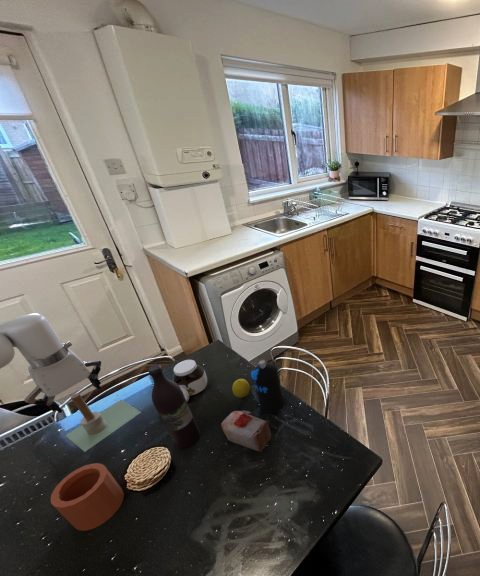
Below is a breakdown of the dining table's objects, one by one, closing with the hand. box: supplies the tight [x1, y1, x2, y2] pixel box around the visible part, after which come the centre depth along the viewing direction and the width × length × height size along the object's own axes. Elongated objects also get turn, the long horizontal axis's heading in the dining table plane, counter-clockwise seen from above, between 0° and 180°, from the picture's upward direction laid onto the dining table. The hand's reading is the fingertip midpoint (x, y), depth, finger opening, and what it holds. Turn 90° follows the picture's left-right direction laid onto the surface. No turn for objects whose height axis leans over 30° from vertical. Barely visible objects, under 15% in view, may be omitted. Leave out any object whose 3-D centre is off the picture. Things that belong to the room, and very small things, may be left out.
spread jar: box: [171, 359, 208, 402], centre depth 110 cm, size 12×11×12 cm
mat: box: [65, 399, 142, 453], centre depth 102 cm, size 16×12×1 cm
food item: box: [220, 409, 272, 453], centre depth 95 cm, size 14×8×10 cm, turn 71°
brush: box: [70, 392, 107, 435], centre depth 96 cm, size 5×5×15 cm
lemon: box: [231, 378, 251, 399], centre depth 110 cm, size 6×6×8 cm
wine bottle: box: [148, 364, 201, 450], centre depth 90 cm, size 7×7×30 cm
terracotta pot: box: [50, 462, 125, 532], centre depth 78 cm, size 10×10×11 cm
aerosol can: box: [250, 359, 285, 415], centre depth 104 cm, size 8×8×20 cm
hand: (79, 398), depth 94 cm, fingers open, 9 cm apart
